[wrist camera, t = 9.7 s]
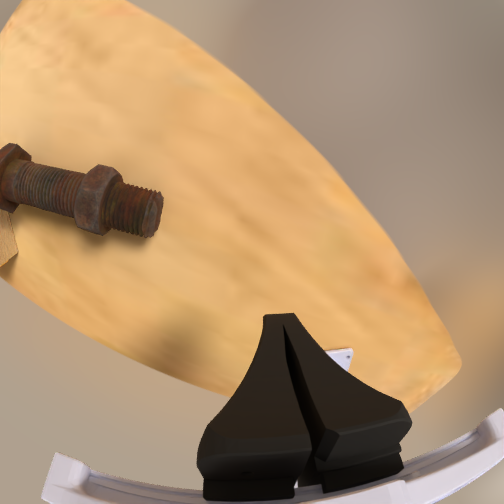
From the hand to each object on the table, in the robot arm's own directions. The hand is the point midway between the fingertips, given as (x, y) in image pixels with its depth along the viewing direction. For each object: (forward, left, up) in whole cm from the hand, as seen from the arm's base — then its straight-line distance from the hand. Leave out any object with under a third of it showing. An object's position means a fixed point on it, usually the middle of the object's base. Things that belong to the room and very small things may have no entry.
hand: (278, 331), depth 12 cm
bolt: (+6, +14, -10) cm, 18 cm away
